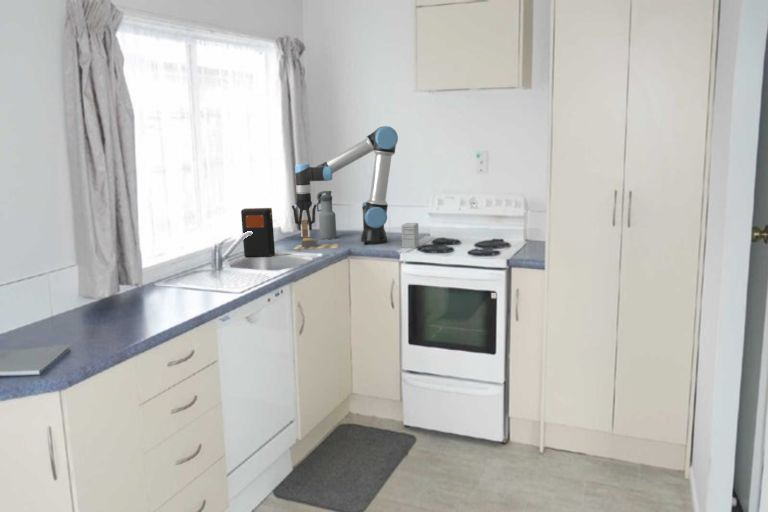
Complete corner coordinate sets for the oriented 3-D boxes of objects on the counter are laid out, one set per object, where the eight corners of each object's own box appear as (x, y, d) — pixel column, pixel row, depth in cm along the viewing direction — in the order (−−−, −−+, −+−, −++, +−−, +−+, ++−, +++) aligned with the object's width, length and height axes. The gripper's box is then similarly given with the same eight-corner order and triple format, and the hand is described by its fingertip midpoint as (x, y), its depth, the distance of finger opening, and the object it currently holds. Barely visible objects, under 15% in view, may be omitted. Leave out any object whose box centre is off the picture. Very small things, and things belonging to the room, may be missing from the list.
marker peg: (308, 237, 370) (307, 220, 368) (302, 237, 370) (301, 220, 368) (309, 236, 372) (308, 219, 371) (303, 236, 373) (302, 220, 371)
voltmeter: (276, 254, 365) (272, 207, 360) (272, 257, 357) (268, 209, 352) (247, 254, 367) (243, 207, 362) (242, 257, 358) (238, 210, 354)
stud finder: (317, 245, 380) (317, 238, 379) (316, 246, 376) (316, 239, 375) (303, 245, 380) (302, 238, 380) (301, 246, 376) (301, 239, 376)
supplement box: (406, 245, 375) (405, 222, 372) (419, 246, 372) (418, 222, 370) (401, 248, 368) (401, 224, 366) (415, 248, 365) (414, 224, 363)
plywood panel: (340, 246, 381) (340, 244, 380) (337, 250, 369) (337, 248, 369) (297, 247, 382) (297, 245, 382) (293, 251, 371) (293, 249, 370)
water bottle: (316, 239, 406) (313, 192, 401) (324, 236, 415) (321, 190, 410) (332, 239, 402) (329, 192, 397) (339, 237, 411) (336, 190, 406)
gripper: (319, 191, 370) (321, 234, 374) (290, 192, 371) (292, 235, 375) (317, 193, 362) (319, 237, 367) (287, 193, 363) (289, 237, 368)
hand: (305, 236), depth 371 cm, fingers closed on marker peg, 3 cm apart
